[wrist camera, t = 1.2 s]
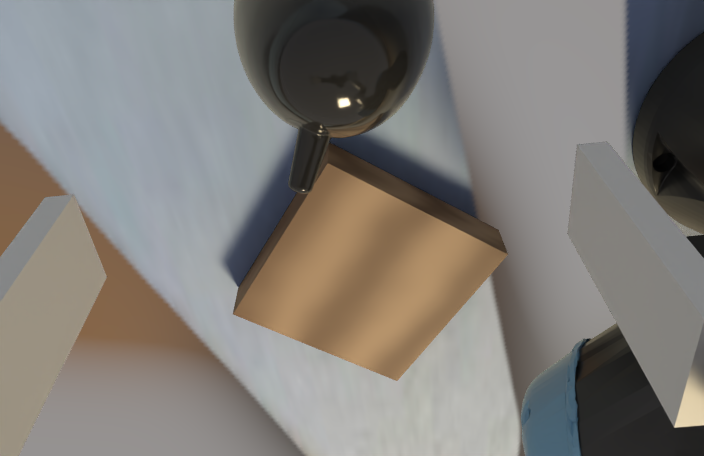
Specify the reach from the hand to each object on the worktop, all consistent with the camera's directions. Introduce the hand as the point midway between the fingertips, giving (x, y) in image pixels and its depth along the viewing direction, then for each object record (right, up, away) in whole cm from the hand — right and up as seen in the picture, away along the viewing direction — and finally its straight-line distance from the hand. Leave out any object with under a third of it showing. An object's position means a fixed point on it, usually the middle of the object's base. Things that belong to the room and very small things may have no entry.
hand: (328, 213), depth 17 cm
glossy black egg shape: (0, +13, +20) cm, 23 cm away
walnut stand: (+2, -3, +30) cm, 30 cm away
